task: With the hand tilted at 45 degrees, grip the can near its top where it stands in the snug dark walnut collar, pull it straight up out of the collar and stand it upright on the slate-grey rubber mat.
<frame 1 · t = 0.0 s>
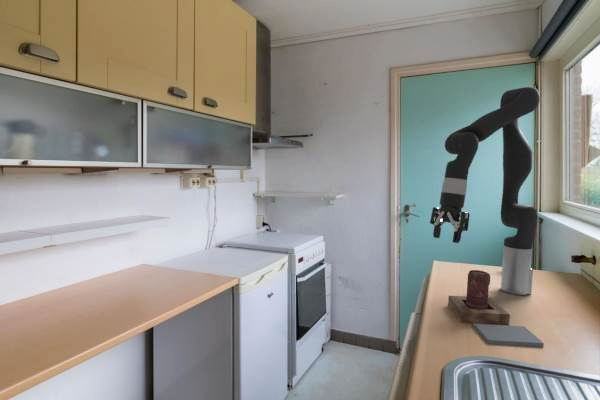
hand: (445, 240, 121), 22 cm above the table, tool pointing down, fingers open, 8 cm apart
mat: (506, 336, 101), on the table
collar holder: (476, 314, 115), on the table
can: (476, 315, 115), resting in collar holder
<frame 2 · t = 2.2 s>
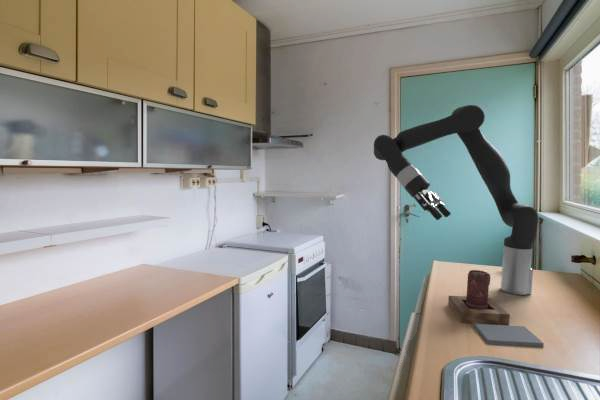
hand: (444, 217, 119), 30 cm above the table, tool tilted 45°, fingers open, 8 cm apart
nothing on the table moved.
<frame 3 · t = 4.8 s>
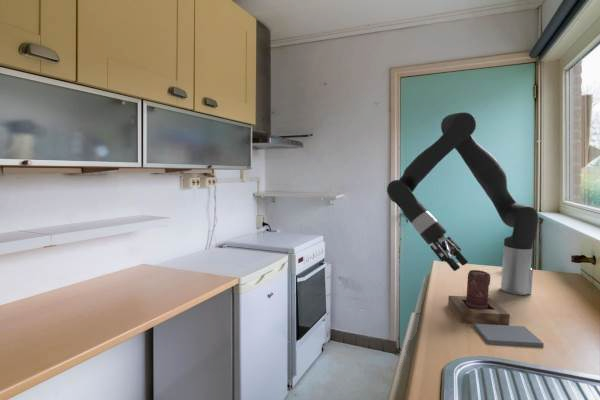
hand: (461, 266, 117), 15 cm above the table, tool tilted 45°, fingers open, 8 cm apart
nothing on the table moved.
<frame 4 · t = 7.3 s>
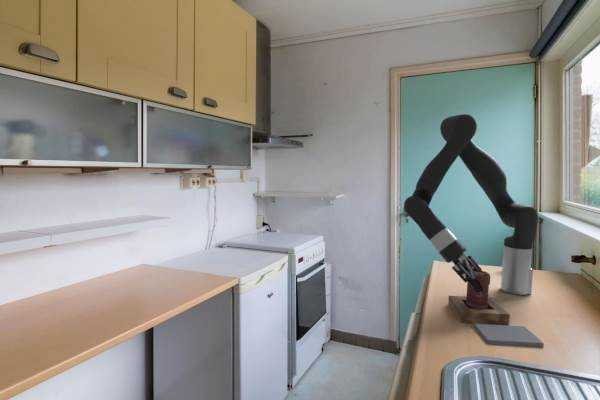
hand: (484, 287, 113), 9 cm above the table, tool tilted 45°, fingers closed on can, 6 cm apart
can: (476, 315, 115), resting in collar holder, touching gripper
everything else where it was.
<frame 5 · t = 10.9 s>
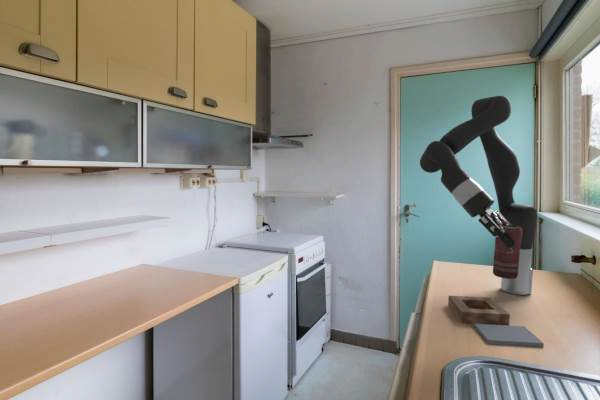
hand: (515, 243, 98), 26 cm above the table, tool tilted 45°, fingers closed on can, 6 cm apart
can: (505, 276, 101), point 17 cm above the table, touching gripper
everything else where it was.
when the fingers open (12 cm above the table, at t = 14.8 s): can drops 1 cm, resting on mat.
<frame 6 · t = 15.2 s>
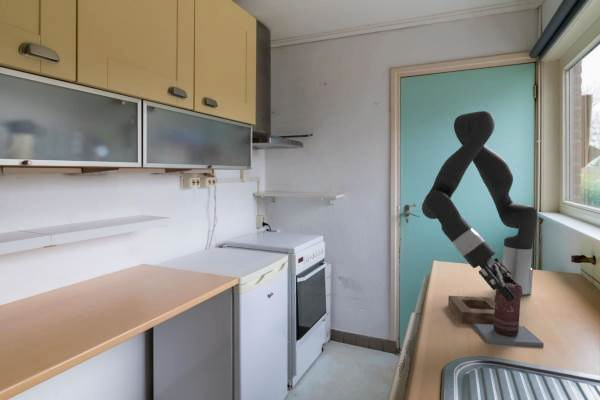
hand: (515, 295, 99), 12 cm above the table, tool tilted 45°, fingers open, 8 cm apart
can: (506, 332, 101), point 1 cm above the table, touching mat
everything else where it was.
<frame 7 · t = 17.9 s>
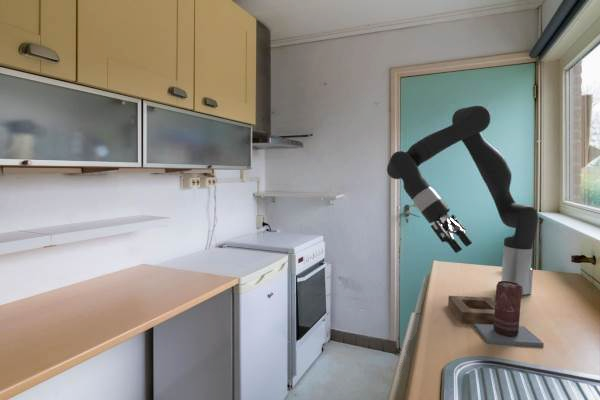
hand: (464, 247, 108), 23 cm above the table, tool tilted 40°, fingers open, 8 cm apart
nothing on the table moved.
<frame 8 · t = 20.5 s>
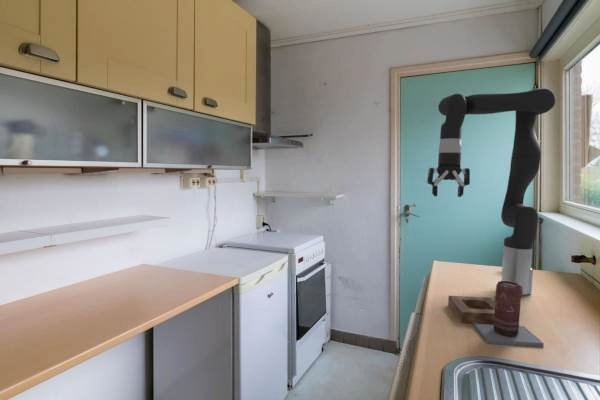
hand: (447, 196, 132), 36 cm above the table, tool pointing down, fingers open, 8 cm apart
nothing on the table moved.
at the end: can inside the target area on the mat (0.3 cm from its centre), point 0.8 cm above the mat's base; can tilted 0°; the gripper is holding nothing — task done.
